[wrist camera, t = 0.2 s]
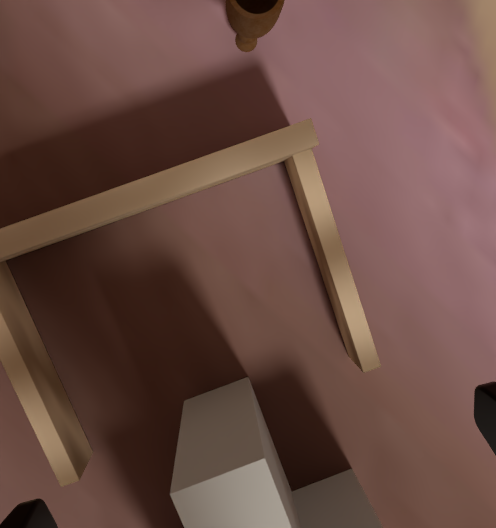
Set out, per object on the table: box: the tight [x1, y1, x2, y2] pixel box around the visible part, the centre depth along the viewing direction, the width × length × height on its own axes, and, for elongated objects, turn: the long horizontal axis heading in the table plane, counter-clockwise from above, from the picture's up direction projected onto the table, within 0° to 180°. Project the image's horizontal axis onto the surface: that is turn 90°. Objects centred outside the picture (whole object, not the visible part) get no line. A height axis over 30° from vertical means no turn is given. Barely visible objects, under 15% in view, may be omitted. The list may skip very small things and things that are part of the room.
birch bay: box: [0, 118, 381, 487], centre depth 21 cm, size 13×18×4 cm
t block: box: [170, 377, 383, 528], centre depth 21 cm, size 12×12×8 cm
